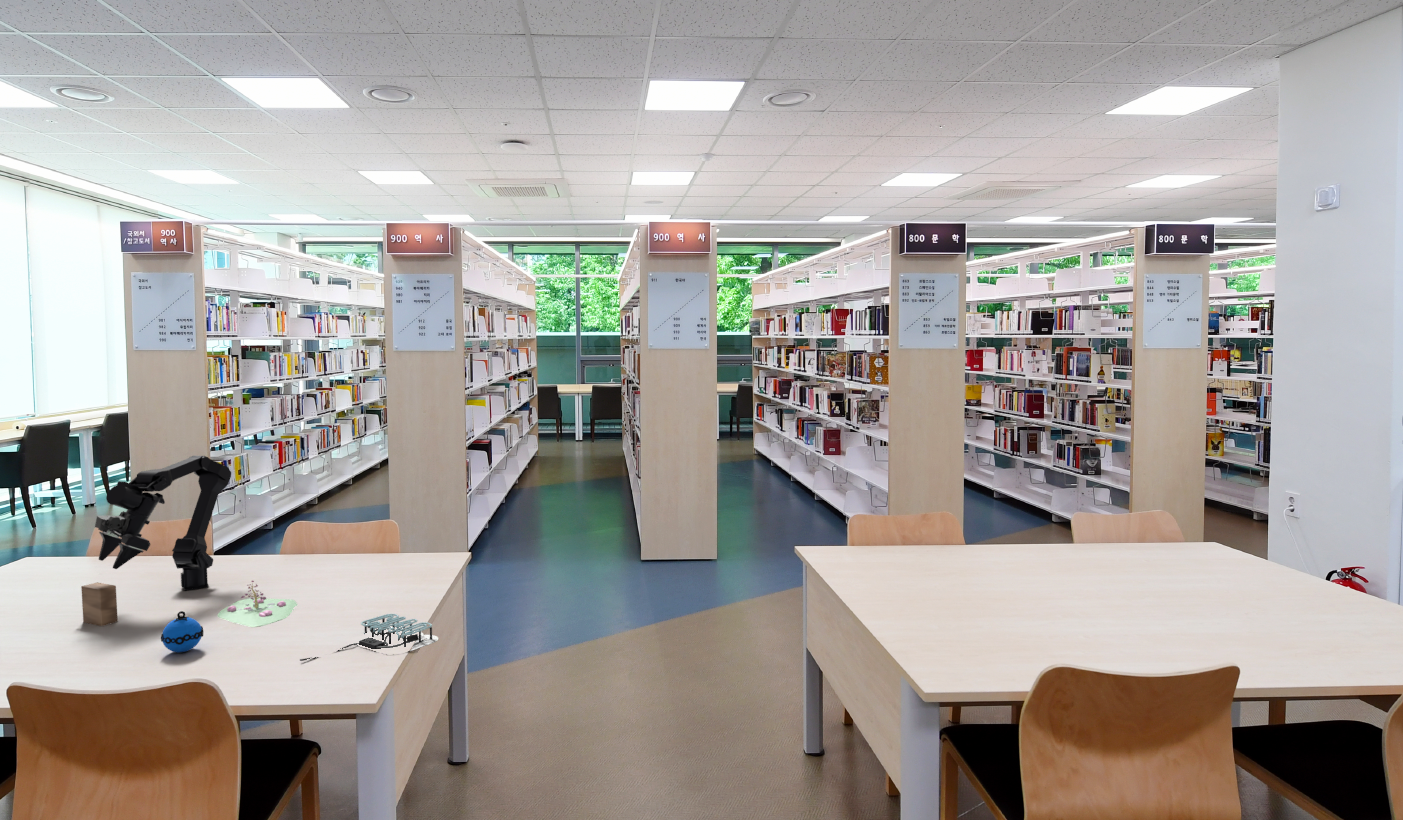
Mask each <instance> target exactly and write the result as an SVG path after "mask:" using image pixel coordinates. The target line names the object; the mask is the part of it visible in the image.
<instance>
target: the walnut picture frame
mask: <svg viewBox="0 0 1403 820" xmlns="http://www.w3.org/2000/svg"><path fill="white" fill-rule="evenodd" d="M80 586H81V585H80ZM80 589H81V603H82V605H81V607H82V621H83V623H84V624H90V625H94V626H99V627H104V626H107V625H111V624H114V623H118V622H119V621H118V604H117V603H118V602H117V600H118V599H117V586H116V585H114V584H107V583H104V582H103V583H102V582H93V583H90V584H89V583H88V584H86V585H82V586H81V587H80Z"/></svg>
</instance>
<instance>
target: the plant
mask: <svg viewBox="0 0 1403 820" xmlns="http://www.w3.org/2000/svg"><path fill="white" fill-rule="evenodd" d="M254 582H255V581H254V580H251V584H247V585H246V586H248V587H247V589H249V590H248V591H247V592H248V593H249V592H251V593H249V594H248V593H244V595H242V596H241V597H240V598H241V599H240V600H238V601H235V602H234V603H232V604H230V605H228V606H227V607H225V608H223V609H222V610H220V611H219V612H218V614H217V618H218V619H221V620H225V621H228V622H229V623H233V624H238V625H241V626H243V627H244V626H245V627H249V628H257V627H263V626H267V625H271V624H273V623H276V622H279V621H282V620H284V619H286V618H288V617H289V616H290V615H291V614H292V612H293V611H294V610H295V609H293V608H294V607H295V606H297V605H298V603H297V602H296V600H294V599H290V598H289V599H287V598H267V597H266V596H264V593H262V592H261V591H259V589H258V590H257V589H256V588H257V587H258V586H259V585H258V583H255V585H253V583H254ZM253 588H255V589H253ZM259 593H260V594H259ZM250 597H251V598H250ZM297 607H298V606H297ZM292 610H293V611H292Z"/></svg>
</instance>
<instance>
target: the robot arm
mask: <svg viewBox="0 0 1403 820" xmlns="http://www.w3.org/2000/svg"><path fill="white" fill-rule="evenodd" d="M190 474H195V475H196V476H197V477H198V480H197V481H198V486H199V487H200V492H199V496H198V498H197V502H196V504H195V507H194V510H193V513H192V516H191V519H190V522H189V524H188V525H189V526H188V528H187V531H186V534H184V536H183V537H182V538H180V537H179V538H177V539H176V540H175V543H174V544H175V545H174V546H173V548H172V550H171V552H172V556H171V557H172V559H173V561H174V564H175V567H176V569H182V572H180V586H181V588H183V591H191V590H197V589H198V590H199V589H203V588H209V587H210V586H209V585H210V584H209V582H208V569H209V568H210V567H212V566H213V565H214V564H213V563H214V558H213V557H212V556H211V555H209V553H207V549H208V545H207V541H206V539H205V538H206V534H207V531H208V527H209V524H210V521H211V518H212V515H213V512H214V509H215V506H216V502H217V499H218V497H219V494H220V493H221V492H222V491H223V490H225V489H226V488H227V486H228V484H229V482H230V480H231V478H232V471H231V469H230V468H229V467H228V466H227V465H224V464H222V463H219V462H217V461H215V460H212V459H211V458H209V457H208V456H206V455H192V456H189V457H188V458H186V459H183V460H180V461H178V462H175V463H172V464H170V465H168V466H166V467H162V468H157V469H156V468H155V469H147V470H141V471H140V472H138V473H137V474H136V476H135V477H134V478H133V479H132V480H130V481H129V482H127V481H122V480H121V481H117V483H116V485H113V487H111V488H110V489H109V491H107V493H106V496H105V497H106V502H107V504H108V505H112V506H116V507H119V508H122V509H125V510H126V511H125V510H124V511H121V512H120V514H119V515H96V519H95V523H94V524H95V525H94V528H97V529H98V530H99V532H98V533H99V535H100V536H101V539H102V542H101V546H100V551H99V555H98V560H99V561H102V562H103V561H104V560H106V558H107V557H109V556H110V555H111V554H112V553H113V552H114V551H115V550H116V549H117V547H119V549H120V550H119V552H118V554H117V556H116V558H115V561H114V563H113V564H112V569H115V570H117V569H119V568H120V567H122V566H123V565H125V564H126V563H127V562H129V561H131V560H132V559H134V558H135V557H136V556H138V555H140V554H141V553H144V552H147V551H148V550H149V548H150V547H151V542H150V540H148V539H146V538H145V537H143V534H141V532H142V530H143V528H144V527H145V525H149V524H150V520H149V519H150V517H151V515H152V513H153V512H154V510H155V508H156V506H157V505H158V504H162V505H164V504H166V502H165V499H164V495H163V494H161V493H159V492H162V491H164V490H165V489H168V487H170V486H171V485H172V483H173V482H174V481H176V480H178V479H181V478H183V477H185V476H187V475H190ZM153 492H156V493H153Z"/></svg>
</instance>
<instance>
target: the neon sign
mask: <svg viewBox="0 0 1403 820" xmlns="http://www.w3.org/2000/svg"><path fill="white" fill-rule="evenodd" d="M385 619H386V620H385ZM406 619H407V617H406V616H400V615H398V614H397V613H387V614H386V613H385V614H382V615H379V616H376V617H373V618H368V619H366V620H363V621H361V622H360V625H361V626H363V627H364V633H367V632H368V629H369V631H370V632H371V633H372V637H374V634H375V635H377V636H378V635H379V634H380V635H382V640H384V635H385V634H387V636H386V637H385V640H384V642H382V641H379V640H376V639H373V638H369V637H368V638H365V639H362V640H359V643H353V644H347V645H346V646H342V647H341V648H342V650H344V649H343V648H345V649H348V648H349V647H352V646H356V645H357V644H359V645H362V646H365V647H368V648H371V649H381V648H393V647H398V646H401V645H403V644H404V647H406V643H410V642H413V641H416V642H415V643H414V645H413V647H412V649H411V650H410V652H412V651H416V650H418V649H421V648H424V647H427V646H429V645H431V644H432V645H433V644H434V643H436V642H437V641H439V636H437V635H433V624H432V623H430V622H427V621H425V622H423V621H422V622H418V619H416V618H411V619H407V620H406ZM380 620H381V621H382V622H380ZM417 622H418V623H417ZM428 625H429V626H428ZM390 626H392V627H390ZM401 626H402V627H401ZM395 627H396V628H397V629H395ZM399 627H400V628H399ZM377 628H378V629H377ZM402 628H403V629H402ZM375 629H376V630H375ZM386 629H387V630H388V632H386V633H384V630H386ZM427 629H429V634H424V633H423V632H422V631H425V630H427ZM391 630H392V631H391ZM376 631H377V634H376V633H375V632H376ZM400 631H402V633H401V635H399V633H398V632H400ZM407 631H409V632H407ZM414 631H415V632H414ZM395 632H396V634H397V635H398V641H399V640H400V638H402V639H403V641H404V642H403V643H401V644H397V645H393V646H388V643H387V642H386V639H387V637H388V636H389V644H391V633H393V634H395ZM405 632H406V633H405ZM417 632H419V636H418V634H415V633H417ZM412 634H415V635H412ZM407 635H410V636H407ZM406 636H407V638H406ZM406 639H407V641H406ZM385 644H386V645H385ZM310 658H311V657H308V658H307V657H306V658H299V661H300V662H303V661H308V660H307V659H310ZM310 660H311V659H310Z"/></svg>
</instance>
